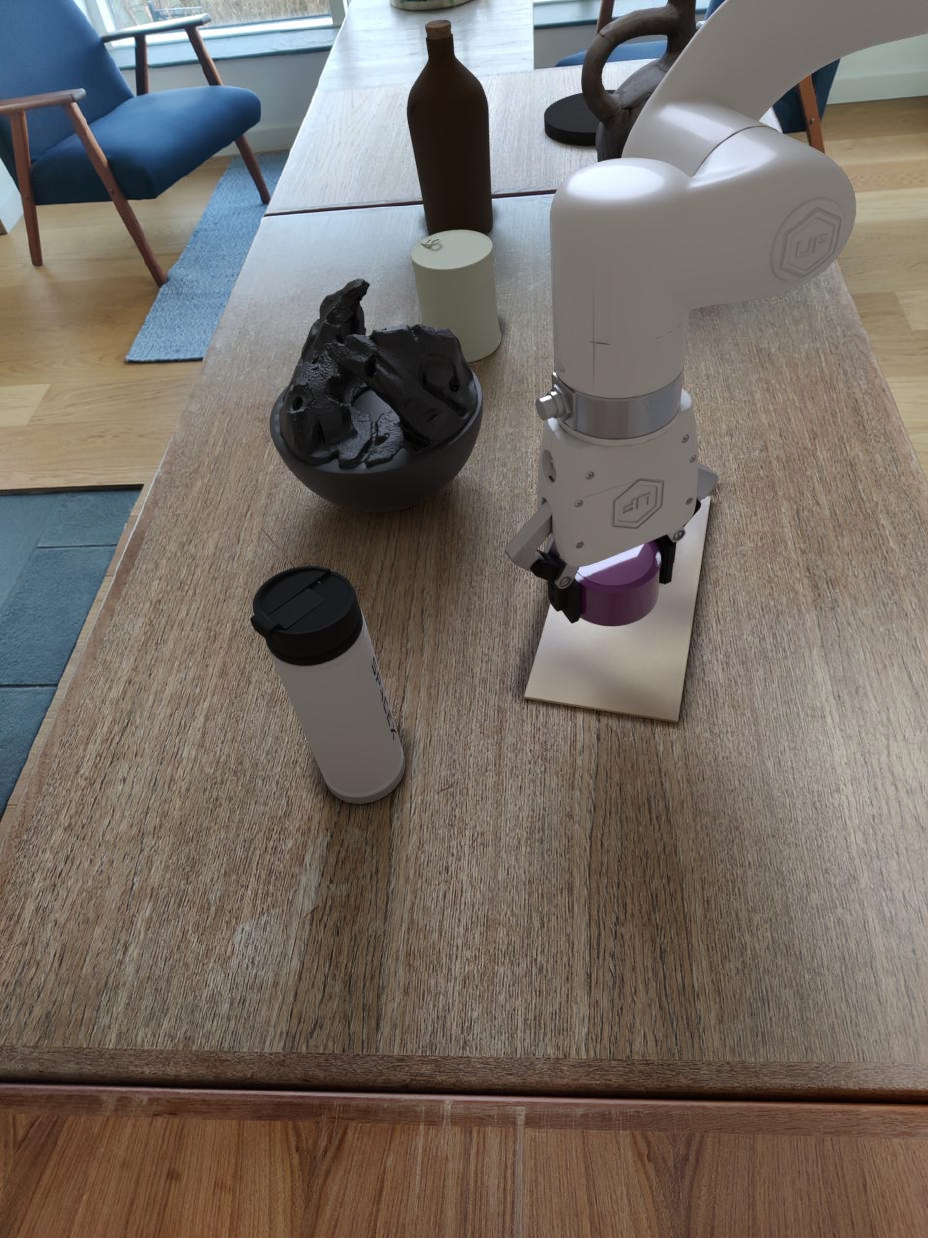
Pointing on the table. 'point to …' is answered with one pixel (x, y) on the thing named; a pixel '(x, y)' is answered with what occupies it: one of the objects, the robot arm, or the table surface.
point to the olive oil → (450, 139)
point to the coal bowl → (376, 409)
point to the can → (459, 289)
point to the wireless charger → (571, 121)
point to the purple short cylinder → (621, 586)
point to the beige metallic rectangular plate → (626, 647)
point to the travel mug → (331, 679)
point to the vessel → (637, 89)
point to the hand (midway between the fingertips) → (611, 589)
